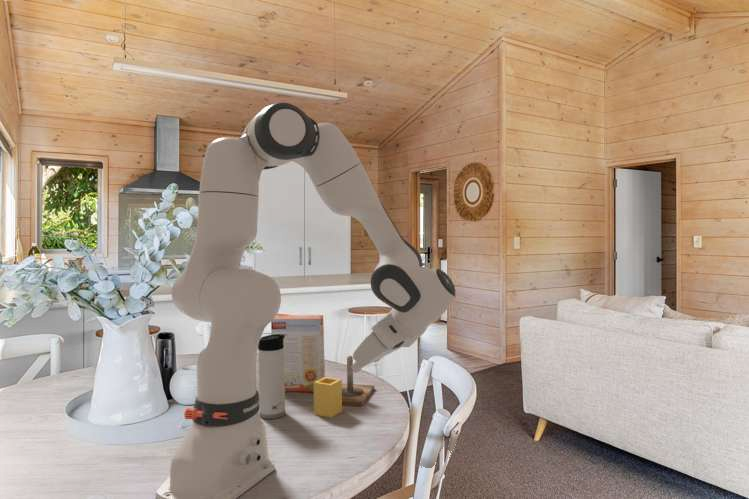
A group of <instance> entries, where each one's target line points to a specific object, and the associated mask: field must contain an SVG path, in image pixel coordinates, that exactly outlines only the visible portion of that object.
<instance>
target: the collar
mask: <svg viewBox="0 0 749 499" xmlns="http://www.w3.org/2000/svg"><path fill="white" fill-rule="evenodd" d="M342 383H343V380H342V379H340V378H335V377H327V376H325V377H324V378H322V379H320V380H318V381H316V382H314V392H313V408H314V409H313V415H316V416H322V417H324V418H325V417H326V418H329V419H331V418H333V417H334V416H337V415H338V414H339V413H342V412H343V405H342Z"/></svg>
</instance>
